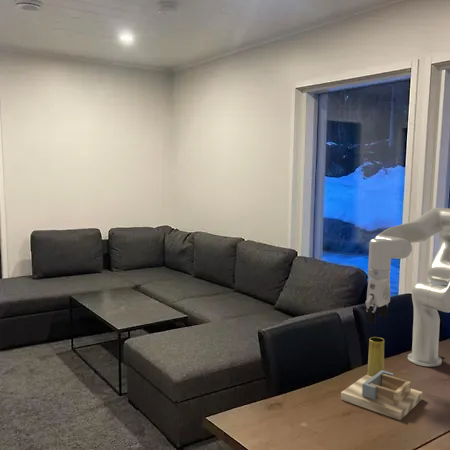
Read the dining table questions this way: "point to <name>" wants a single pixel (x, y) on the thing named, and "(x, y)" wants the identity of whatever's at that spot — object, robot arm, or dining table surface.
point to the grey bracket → (369, 389)
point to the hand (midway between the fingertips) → (376, 319)
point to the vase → (375, 356)
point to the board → (385, 396)
